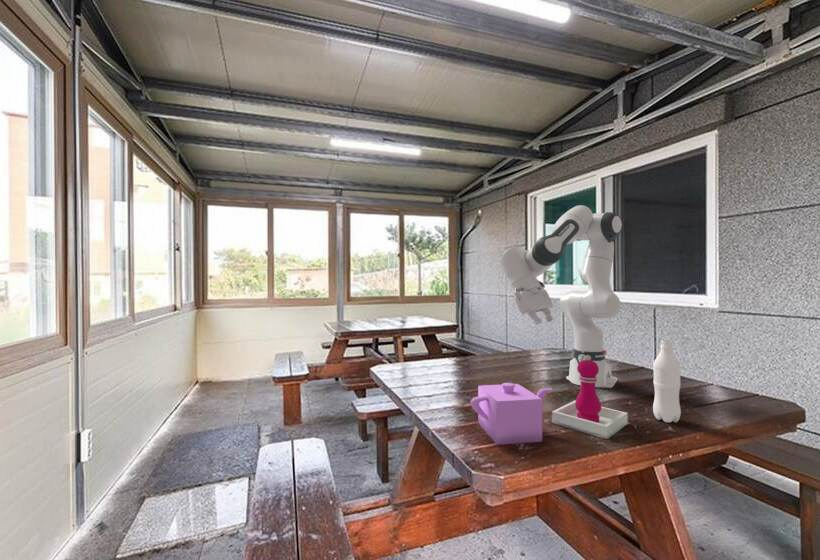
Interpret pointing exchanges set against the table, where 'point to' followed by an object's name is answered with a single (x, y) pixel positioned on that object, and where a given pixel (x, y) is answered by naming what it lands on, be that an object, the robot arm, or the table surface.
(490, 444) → the table surface
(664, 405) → the water bottle
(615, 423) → the tray
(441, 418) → the table surface
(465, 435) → the table surface
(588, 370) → the pepper mill
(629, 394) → the table surface
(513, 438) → the teapot
